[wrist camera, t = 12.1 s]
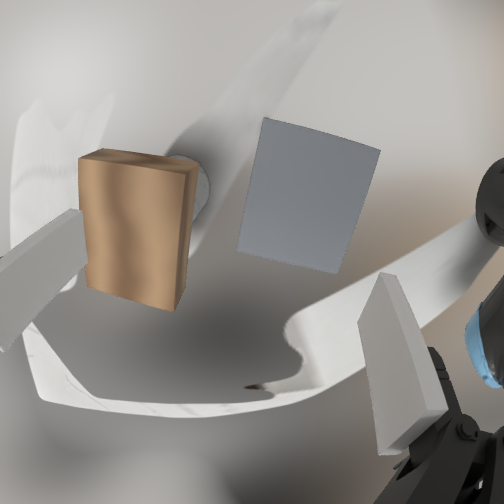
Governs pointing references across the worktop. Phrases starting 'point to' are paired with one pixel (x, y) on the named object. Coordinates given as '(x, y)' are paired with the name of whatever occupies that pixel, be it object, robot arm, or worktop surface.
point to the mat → (304, 196)
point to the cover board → (137, 224)
